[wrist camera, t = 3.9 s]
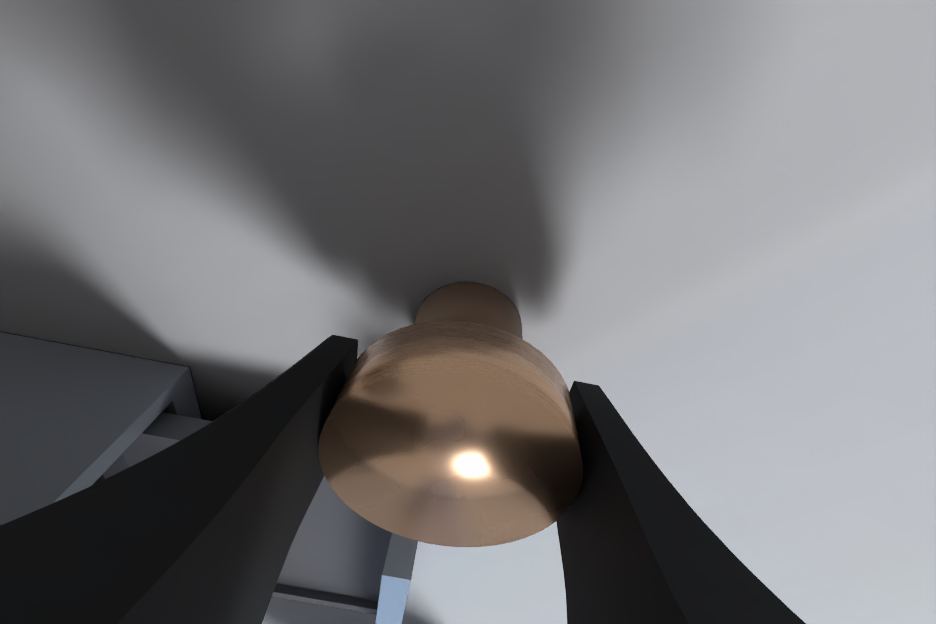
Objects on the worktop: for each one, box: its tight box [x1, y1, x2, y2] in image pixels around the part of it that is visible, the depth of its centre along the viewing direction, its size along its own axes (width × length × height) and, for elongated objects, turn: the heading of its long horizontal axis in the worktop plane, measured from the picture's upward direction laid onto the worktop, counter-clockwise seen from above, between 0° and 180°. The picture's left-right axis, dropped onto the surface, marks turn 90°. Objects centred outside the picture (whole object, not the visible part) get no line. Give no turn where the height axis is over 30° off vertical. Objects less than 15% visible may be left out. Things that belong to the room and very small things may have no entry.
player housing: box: [0, 332, 201, 525], centre depth 15 cm, size 11×12×6 cm
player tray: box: [93, 412, 418, 624], centre depth 15 cm, size 11×12×5 cm
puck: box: [318, 320, 583, 547], centre depth 9 cm, size 5×5×2 cm
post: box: [414, 282, 522, 339], centre depth 11 cm, size 3×3×4 cm
